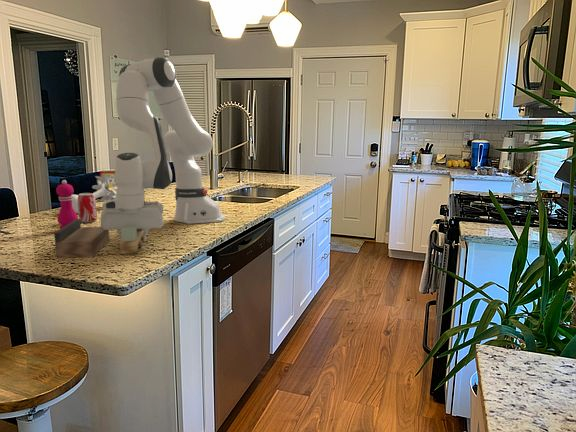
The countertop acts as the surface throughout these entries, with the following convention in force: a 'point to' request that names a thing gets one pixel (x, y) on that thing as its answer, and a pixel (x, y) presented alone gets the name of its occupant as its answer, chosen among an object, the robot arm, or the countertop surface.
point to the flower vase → (99, 191)
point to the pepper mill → (65, 204)
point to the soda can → (87, 207)
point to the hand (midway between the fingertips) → (134, 241)
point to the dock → (79, 240)
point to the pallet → (132, 244)
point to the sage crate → (129, 233)
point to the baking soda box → (109, 173)
